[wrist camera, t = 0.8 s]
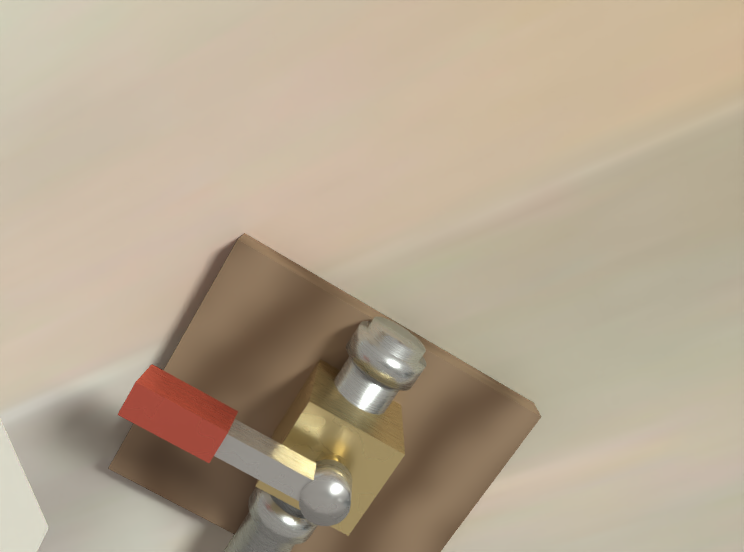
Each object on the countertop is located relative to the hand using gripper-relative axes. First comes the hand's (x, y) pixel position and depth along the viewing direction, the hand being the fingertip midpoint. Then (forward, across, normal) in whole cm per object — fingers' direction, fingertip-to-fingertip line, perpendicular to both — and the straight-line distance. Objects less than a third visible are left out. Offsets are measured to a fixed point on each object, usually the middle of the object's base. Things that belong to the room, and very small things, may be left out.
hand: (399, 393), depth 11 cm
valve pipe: (+25, +3, +19) cm, 32 cm away
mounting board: (+26, +3, +19) cm, 33 cm away
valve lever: (+19, +7, +13) cm, 24 cm away
